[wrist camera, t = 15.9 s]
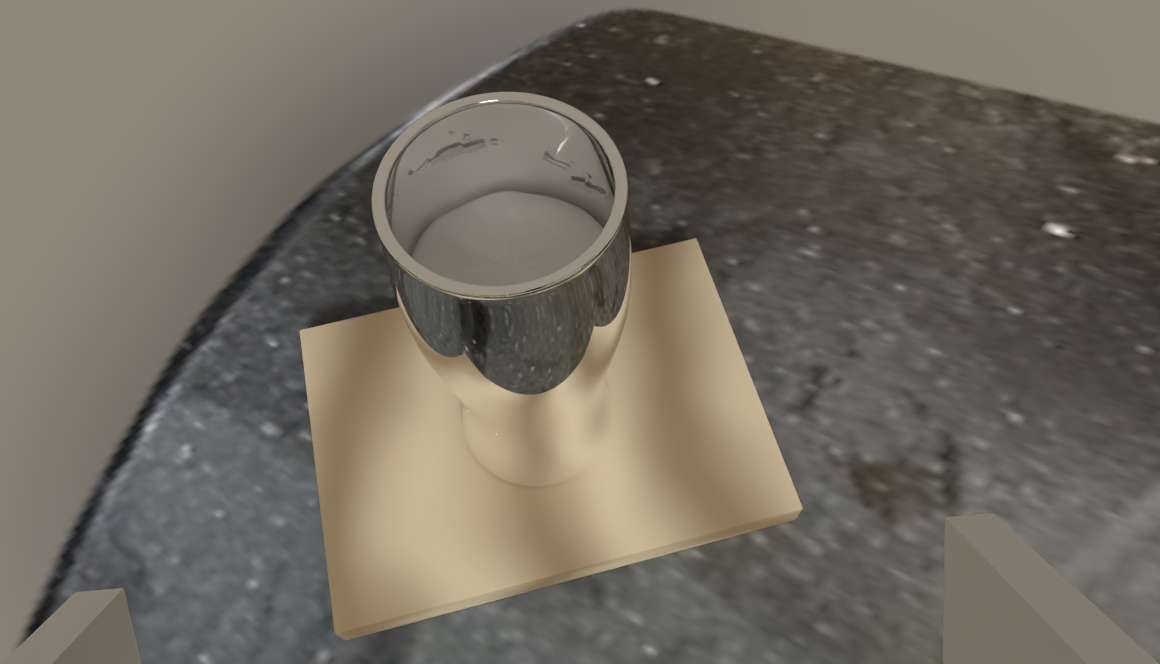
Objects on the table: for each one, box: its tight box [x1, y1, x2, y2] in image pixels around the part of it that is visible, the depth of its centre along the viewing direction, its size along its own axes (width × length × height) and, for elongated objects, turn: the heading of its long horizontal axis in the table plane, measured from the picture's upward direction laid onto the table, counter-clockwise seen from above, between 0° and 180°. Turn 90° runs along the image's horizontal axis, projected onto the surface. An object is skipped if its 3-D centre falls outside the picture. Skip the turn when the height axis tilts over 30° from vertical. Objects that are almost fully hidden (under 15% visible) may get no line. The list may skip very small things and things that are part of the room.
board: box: [300, 238, 803, 640], centre depth 36 cm, size 18×13×2 cm
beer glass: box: [372, 92, 632, 487], centre depth 28 cm, size 7×7×15 cm
